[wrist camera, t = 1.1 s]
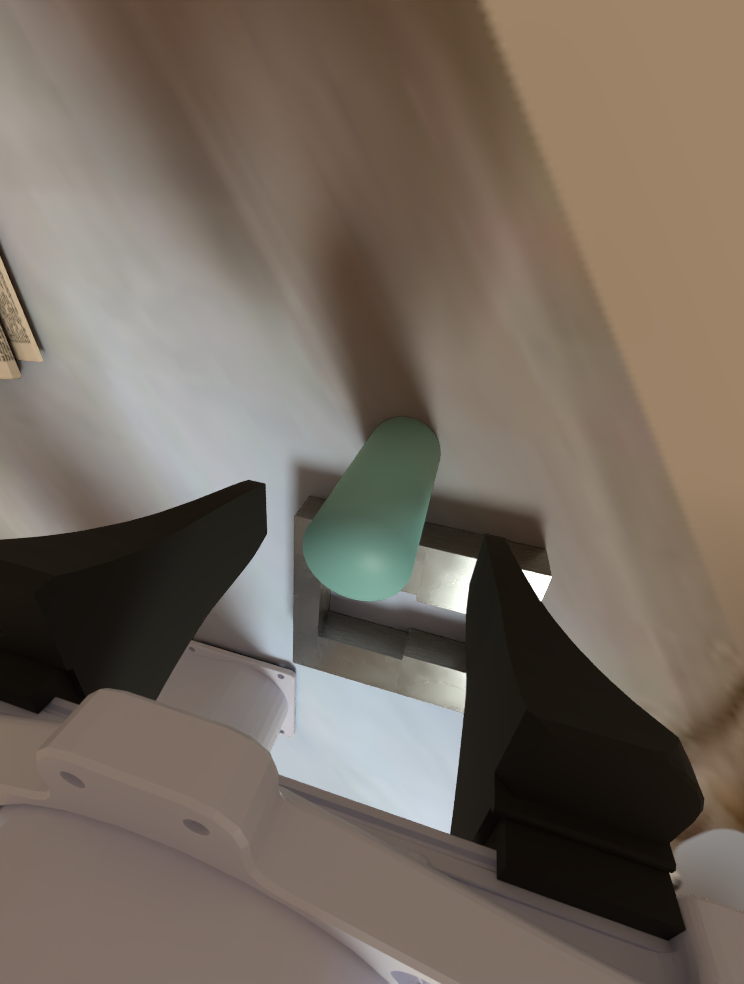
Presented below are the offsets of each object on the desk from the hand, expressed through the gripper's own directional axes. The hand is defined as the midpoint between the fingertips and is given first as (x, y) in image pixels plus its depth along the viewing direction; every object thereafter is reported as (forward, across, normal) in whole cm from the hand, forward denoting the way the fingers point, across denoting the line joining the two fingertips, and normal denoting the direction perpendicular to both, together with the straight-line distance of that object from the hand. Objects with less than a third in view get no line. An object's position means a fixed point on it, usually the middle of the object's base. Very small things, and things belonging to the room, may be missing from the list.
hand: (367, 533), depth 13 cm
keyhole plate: (+7, -2, +9) cm, 11 cm away
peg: (+7, 0, 0) cm, 7 cm away
